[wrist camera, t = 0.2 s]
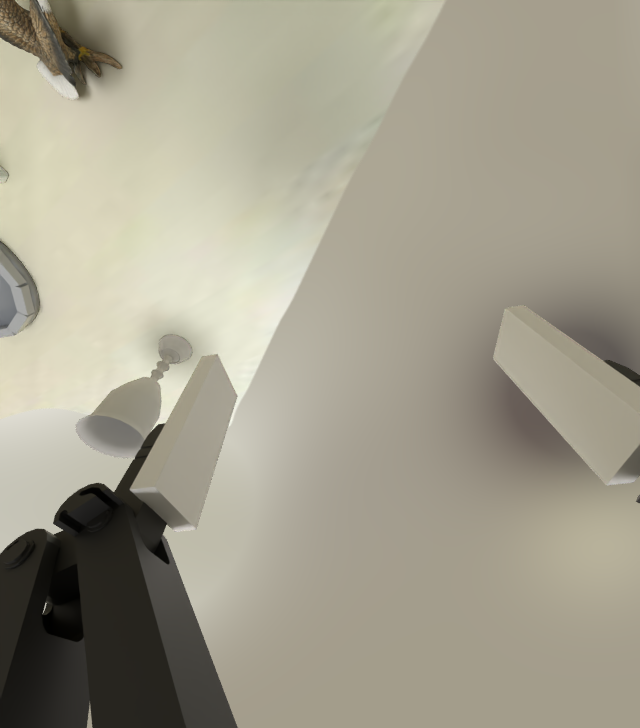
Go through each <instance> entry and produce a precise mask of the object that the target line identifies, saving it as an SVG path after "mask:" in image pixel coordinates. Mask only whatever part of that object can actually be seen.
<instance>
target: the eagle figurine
mask: <svg viewBox="0 0 640 728" xmlns="http://www.w3.org/2000/svg"><path fill="white" fill-rule="evenodd" d="M0 38H2V39H3V40H5V41H7V42H9V43H10V44H12V45H13V46H16V47H18V48H20V49H23V50H25V51H26V52H29V53H32V54H33V55H35V56H38V57H39V58H40V61H39V62H38V64H37V68H38V70H39V72H40V73H41V75H42V76H43V77H44V78H45V79H46V80H47V81H48V82H49V83H50V84H51V86H52V87H53V88H54V89H55V90H56V91H57V92H58V93H59V94H60V95H62V96H63V97H65V98H68V99H71V100H72V99H73V100H75V99H78V97H79V94H78V92H77V90H76V88H75V87H74V86H76V82H75V79H74V78H73V77H72V76H71V75H70V74H72V73H73V72H72V71H71V67H70V66H69V65H68V63H69V62H72V64H73V67H74V72H75V74H76V75H77V76H78V78H79V80H80V81H81V83H83V84H84V85H86V83H85V81H84V79H83V76H82V72H81V64H80V61H83V62H84V63H85V65H86V66H87V67H88V68H89V69H90V70H91V71H92V72H93V73H94V74H95V75H96V76H97V77H101V73H100V70H99V67H98V66H97V64H96V63H95V61H100V62H104V63H107V64H111V65H112V66H114V67H116V68H118V69H122V66H121V65H120V64H119V63H118V62H116V61H115V60H114V59H113V58H111V57H110V56H108V55H106V54H103V53H100V52H94V51H92V50H89V49H88V48H85V47H83V46H81V45H80V44H79V43H77V42H75V41H74V40H73V39H72V37H70V36H69V35H68V34H67V32H66V31H63V30H62V29H61V28H60V27H58V24H57V21H56V19H55V17H54V15H53V12H52V10H51V8H50V5H49V2H48V0H30V11H27V10H25V9H23V8H22V7H21V6H19V5H18V4H17V3H16V2H15V0H0ZM79 60H80V61H79Z"/></svg>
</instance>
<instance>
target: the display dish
mask: <svg viewBox="0 0 640 728" xmlns="http://www.w3.org/2000/svg"><path fill="white" fill-rule="evenodd" d="M38 311H39V295H38V292H37V289H36V286H35V284H34V282H33V279H32V278H31V276H30V274H29V273H28V271H27V270H26V268H25V267H24V266H23V264H22V263H21V262H20V261H19V259H18V258H17V257H16V256H15V255H14V254H13V253H12V252H11V251H10V250H9V249H8V248H7V247H6V246H5V245H4V244H3V243H2V242H1V241H0V338H1V337H7V336H13V335H16V334H18V333H19V332H21V331H23V330H24V328H25V327H26V326H27V325H28V324H30V323H31V322H32V321H33V320H34V319H35V318H36V316H37V314H38Z"/></svg>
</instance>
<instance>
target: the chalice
mask: <svg viewBox="0 0 640 728" xmlns="http://www.w3.org/2000/svg"><path fill="white" fill-rule="evenodd" d="M159 354H160V356H161V358H162V359H163V361H159V362H158V363H157V367H158V368H157V369H156V370H152V372H151V373H152V375H151V378H149V377H142V378H140V379H137V380H134V381H131V382H128V383H126V384H124V385H122V386H120V387H118V388H116V389H114V390H112V391H111V392H110V393H109V394H108V396H107V397H106V398H105V399H104V400H103V401H102V403H101V404H100V405H99V406H98V407H97V408H96V410H95V411H94V412H93V413H92V414H91V415H88V416H86V417H84V418H82V419H80V420H79V421H78V422H77V424H76V432H77V434H78V436H79V437H80V439H81V440H82V441H83V442H84V443H85V444H86V445H88V446H90V447H91V448H93V449H94V450H96V451H99V452H101V453H103V454H105V455H109V456H113V457H119V458H134V457H135V456H136V454H137V452H138V451H139V450H140V449H141V446H142V444H143V442H144V441H145V439H146V437H147V435H148V434H149V433H150V432H151V430H152V428H153V427H154V425H155V423H156V421H157V420H158V418H159V415H160V409H161V389H160V385H159V383H158V382H157V381H158V380H159V379H161V378H163V372H164V371H168V370H169V363H170V364H178V363H181V362H183V361H185V360H187V359H189V358H190V357H191V355H192V348H191V346H190V344H189V343H188V342H187V341H186V340H185V339H183V338H182V337H180V336H177V335H166V336H164V337H162V338H161V339H160V342H159Z"/></svg>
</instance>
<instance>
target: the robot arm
mask: <svg viewBox="0 0 640 728" xmlns="http://www.w3.org/2000/svg"><path fill="white" fill-rule="evenodd" d="M493 359H494V360H495V362H496V363H497V364H498V365H499V366H500V367H501V368H502V369H503V370H504V371H505V373H506V374H507V375H508V376H509V377H510V378H511V379H512V381H513V382H514V383H515V384H516V385H517V386H518V387H519V388H520V389H521V391H522V392H523V393H524V394H525V395H526V396H527V397H528V398H529V400H530V401H531V402H532V403H533V404H534V405H535V406H536V407H537V408H538V410H539V411H540V412H541V413H542V414H543V415H544V416H545V417H546V418H547V420H548V421H549V422H550V423H551V424H552V425H553V426H554V427H555V429H556V430H557V431H558V432H559V433H560V434H561V435H562V436H563V438H564V439H565V440H566V441H567V442H568V443H569V444H570V445H571V447H572V448H573V449H574V450H575V451H576V452H577V453H578V454H579V455H580V457H581V458H582V459H583V460H584V461H585V462H586V463H587V464H588V465H589V467H590V468H591V469H592V470H593V471H594V472H595V473H596V474H597V476H598V477H599V478H600V479H601V480H602V481H603V482H604V483H605V484H606V485H615V484H624V483H633V482H634V481H635V480H636V479H637V478H638V477H639V476H640V375H638V374H637V373H635V372H634V371H632V370H631V369H629V368H627V367H625V366H622V365H620V364H617V363H615V362H613V361H610V360H605V361H602V360H601V359H599V358H598V357H597V356H595V355H594V354H592V353H591V352H589V351H588V350H587V349H585V348H584V347H582V346H581V345H580V344H578V343H577V342H575V341H574V340H572V339H571V338H570V337H568V336H567V335H565V334H564V333H562V332H561V331H560V330H558V329H557V328H555V327H554V326H552V325H551V324H550V323H548V322H547V321H545V320H544V319H542V318H541V317H540V316H538V315H537V314H535V313H534V312H533V311H531V310H530V309H528V308H527V307H525V306H524V305H521V306H515V307H509V308H505V311H504V315H503V319H502V323H501V327H500V331H499V336H498V340H497V344H496V348H495V352H494V356H493ZM236 399H237V394H236V392H235V390H234V388H233V386H232V384H231V382H230V380H229V377H228V375H227V373H226V371H225V369H224V367H223V365H222V363H221V361H220V358H219V356H218V354H215V355H209V356H203V357H202V358H201V360H200V361H199V363H198V365H197V367H196V369H195V371H194V372H193V374H192V376H191V378H190V380H189V381H188V383H187V385H186V387H185V389H184V391H183V392H182V394H181V396H180V398H179V400H178V402H177V403H176V405H175V407H174V409H173V411H172V413H171V414H170V416H169V418H168V420H167V422H166V423H165V424H158V425H157V426H156V427H155V428H154V429H153V430H152V431H151V432H150V433H149V434H148V435H147V437H146V439H145V441H144V442H143V444H142V446H141V449H140V450H139V451H138V452H137V454H136V456H135V459H134V460H133V461H132V463H131V464H130V466H129V468H128V470H127V471H126V473H125V475H124V477H123V478H122V480H121V481H120V483H119V485H118V487H117V489H116V490H115V492H112V491H111V490H110V489H109V488H108V487H107V486H105V485H104V484H101V483H95V484H90V485H88V486H86V487H84V488H82V489H80V490H78V491H77V492H76V493H74V494H73V495H72V496H70V497H69V498H68V499H67V500H66V501H65V502H64V503H63V504H62V505H61V507H60V508H59V510H58V511H57V513H56V515H55V518H54V522H53V524H55V525H56V526H58V527H59V528H61V529H63V531H61V532H59V533H56V534H54V535H53V534H51V533H50V532H48V531H46V530H45V529H35V530H32V531H29V532H27V533H25V534H23V535H22V536H20V537H18V538H17V539H16V540H14V541H13V542H12V543H11V544H10V545H8V546H7V547H6V548H5V549H4V551H3V552H2V553H1V554H0V728H87V720H88V711H89V703H90V705H91V716H92V727H93V728H237V725H236V722H235V720H234V717H233V714H232V712H231V709H230V706H229V704H228V701H227V698H226V696H225V693H224V691H223V688H222V685H221V682H220V680H219V677H218V674H217V672H216V669H215V666H214V664H213V661H212V659H211V656H210V653H209V651H208V648H207V645H206V643H205V640H204V637H203V635H202V632H201V629H200V627H199V624H198V621H197V619H196V616H195V614H194V611H193V608H192V606H191V603H190V600H189V598H188V595H187V593H186V590H185V587H184V584H183V582H182V579H181V576H180V574H179V571H178V569H177V566H176V563H175V560H174V558H173V555H172V552H171V550H170V547H169V545H168V542H167V539H166V538H165V537H164V536H163V532H164V529H165V527H166V525H168V526H169V527H170V528H172V529H173V530H174V531H175V532H177V531H187V530H196V528H197V525H198V522H199V519H200V515H201V512H202V509H203V506H204V503H205V499H206V496H207V493H208V489H209V486H210V483H211V480H212V477H213V473H214V470H215V467H216V464H217V460H218V457H219V454H220V451H221V448H222V444H223V441H224V438H225V434H226V431H227V428H228V425H229V422H230V418H231V415H232V412H233V409H234V405H235V402H236ZM636 502H638V503H640V495H639V496H638V498H637V501H636ZM45 602H46V603H47V604H46V608H45V611H44V613H43V610H44V606H45Z"/></svg>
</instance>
